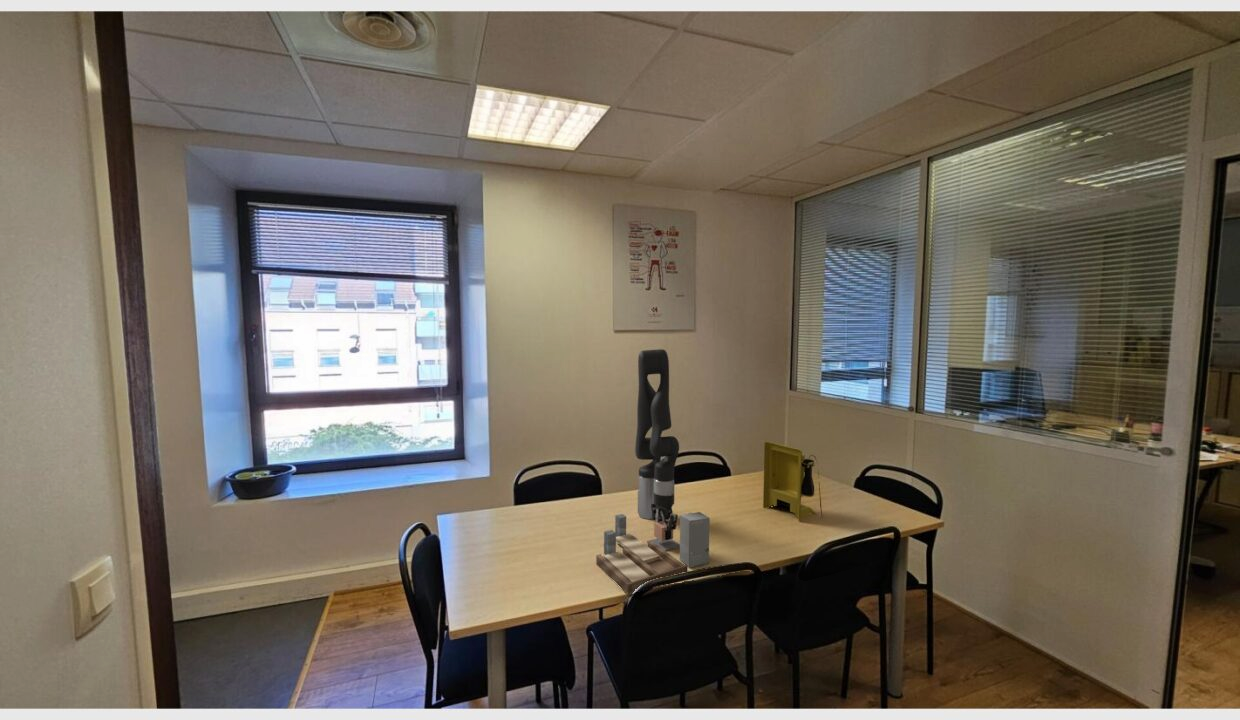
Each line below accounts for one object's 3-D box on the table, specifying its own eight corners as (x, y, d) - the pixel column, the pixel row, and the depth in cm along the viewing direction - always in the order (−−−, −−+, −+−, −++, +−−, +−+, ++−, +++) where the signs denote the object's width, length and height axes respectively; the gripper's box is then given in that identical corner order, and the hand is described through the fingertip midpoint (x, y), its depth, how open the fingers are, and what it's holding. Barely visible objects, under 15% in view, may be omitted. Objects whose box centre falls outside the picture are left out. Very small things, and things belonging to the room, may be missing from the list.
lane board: (596, 564, 153) (596, 554, 153) (651, 548, 164) (651, 539, 164) (628, 595, 135) (628, 584, 134) (687, 576, 146) (687, 565, 145)
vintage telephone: (836, 521, 188) (839, 449, 186) (817, 529, 180) (819, 454, 178) (772, 497, 214) (774, 434, 212) (753, 504, 206) (754, 438, 204)
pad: (646, 542, 169) (646, 541, 169) (666, 536, 173) (666, 535, 173) (660, 552, 161) (660, 551, 161) (681, 546, 165) (681, 545, 165)
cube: (654, 536, 168) (654, 522, 168) (665, 533, 170) (665, 520, 170) (661, 541, 163) (661, 528, 163) (673, 538, 166) (673, 525, 166)
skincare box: (689, 568, 150) (689, 521, 149) (678, 558, 157) (678, 513, 156) (710, 563, 154) (711, 517, 153) (698, 553, 160) (699, 509, 159)
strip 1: (611, 537, 170) (611, 516, 170) (626, 533, 174) (626, 512, 173) (643, 563, 151) (643, 540, 150) (659, 559, 154) (659, 536, 154)
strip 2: (599, 555, 157) (599, 532, 156) (616, 550, 160) (616, 528, 159) (633, 587, 137) (633, 561, 137) (651, 581, 140) (651, 556, 140)
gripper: (644, 486, 170) (644, 531, 171) (667, 499, 158) (666, 546, 159) (661, 483, 174) (661, 527, 175) (684, 495, 161) (683, 542, 162)
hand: (663, 536), depth 167 cm, fingers closed on cube, 5 cm apart
